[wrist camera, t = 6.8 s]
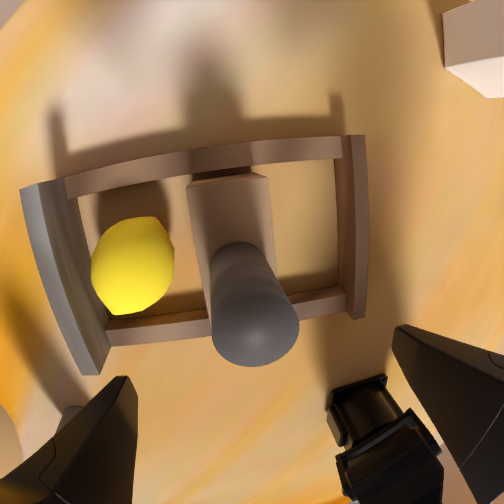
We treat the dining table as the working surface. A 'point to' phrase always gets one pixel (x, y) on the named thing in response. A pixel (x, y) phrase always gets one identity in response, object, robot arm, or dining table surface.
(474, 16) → the milk carton
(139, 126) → the dining table surface
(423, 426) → the robot arm
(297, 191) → the dining table surface
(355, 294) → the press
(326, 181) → the dining table surface
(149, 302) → the lemon
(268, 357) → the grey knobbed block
